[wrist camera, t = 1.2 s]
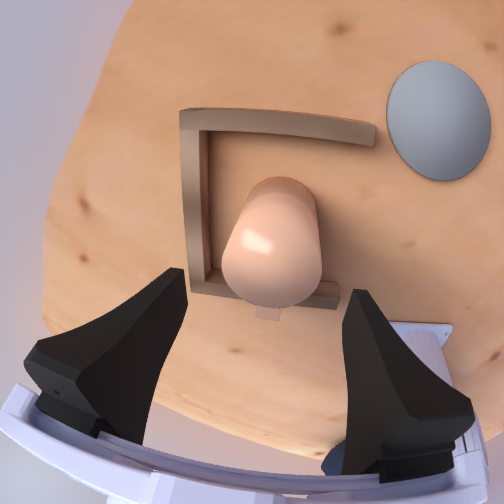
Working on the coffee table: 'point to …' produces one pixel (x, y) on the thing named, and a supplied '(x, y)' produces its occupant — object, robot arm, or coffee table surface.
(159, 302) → the robot arm
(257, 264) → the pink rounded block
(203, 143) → the holder
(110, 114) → the coffee table surface
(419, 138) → the coaster
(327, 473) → the decorative stone
